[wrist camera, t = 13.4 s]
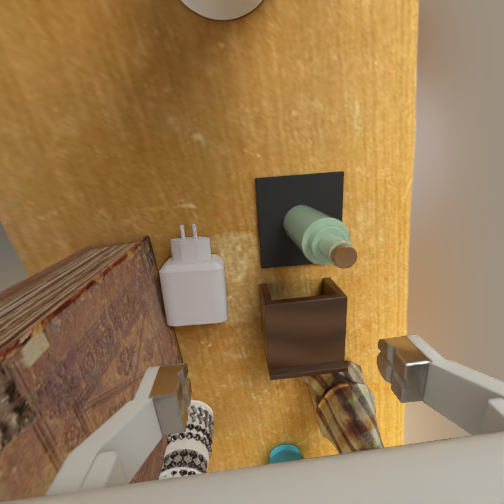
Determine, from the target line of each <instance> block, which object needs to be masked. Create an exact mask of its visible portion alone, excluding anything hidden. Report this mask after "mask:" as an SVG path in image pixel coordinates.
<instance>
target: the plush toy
mask: <svg viewBox="0 0 504 504" xmlns="http://www.w3.org/2000/svg"><path fill="white" fill-rule="evenodd" d="M345 363H346V364H347V366H348V371H347V372H338V373H329V374H321V375H312V376H303V379H304V382H305V384H306V385H307V386H308V388H309V390H310V392H311V396H312V401H313V405H314V409H315V416H316V420H317V423H318V425H319V428H320V431H321V433H322V434H323V436H324V437H327V438H328V439H329V440H330V442H331V443H332V444H333V445H334V447H335V448H336V449H337V451H338V452H339V454H343V453H350V452H357V451H364V450H371V449H379V448H385V447H384V446H383V444H382V440H381V437H380V433H379V429H378V424H377V419H376V409H375V402H374V396H373V394H372V392H371V390H370V389H369V388H368V386H367V385H366V384H365V382H364V379H363V376H362V369H361V367H360V366H358V365H356V364H355V363H353V362H351V361H345Z"/></svg>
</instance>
